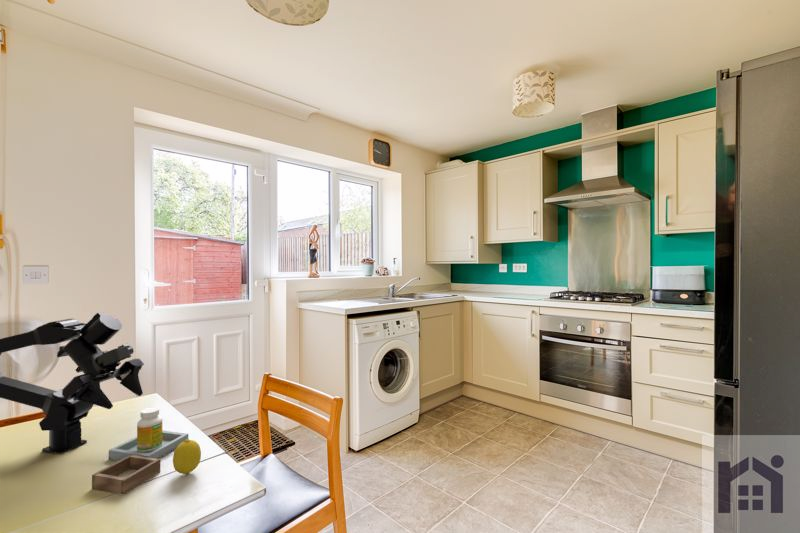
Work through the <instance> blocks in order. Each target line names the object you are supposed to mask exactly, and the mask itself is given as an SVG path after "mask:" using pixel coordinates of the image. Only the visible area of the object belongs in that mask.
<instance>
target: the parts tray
mask: <svg viewBox="0 0 800 533" xmlns="http://www.w3.org/2000/svg"><path fill="white" fill-rule="evenodd" d="M186 439H189V433H187V432H186V433H185V432H178V431H170V430H164V429H162V445H161V447H159V448H158V449H156V450H153V451H149V452H139V451H138V450H137V436H134V437H133V438H131V439H128V440H127V441H125V442H123V443H120V444H118V445H117V446H114V447H113V448H110V449H108V460H113V461H116V462H117V461H119V460H121V459H123V458H125V457H127V456H129V455H136V456H143V457H149V458H156V459H160V460H161V458H163V457H165V456H167V455H169V454H170V453H172V452H175V450H176V448H177V446H178V445H179V444H181V443H182V442H184V441H185V440H186Z"/></svg>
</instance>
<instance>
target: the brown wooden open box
mask: <svg viewBox="0 0 800 533" xmlns="http://www.w3.org/2000/svg"><path fill="white" fill-rule="evenodd" d="M128 471H134V472H132V473H131V474H129V475H127V476H126V477H123V476H122V477H121V475H123V474H124V473H127V472H128ZM160 473H161V458H160V459H156V458H149V457H143V456H136V455H129V456H127V457H125V458H123V459H121V460H119V461H117V460H116V462H114V463H112V464H110V465H108V466H106V467H104V468H103V469H100V470H99V471H97V472H95V473H93V474H92V475H91V490H94V491H101V492H106V493H111V494H116V495H122V496H125V495H126V494H128V493H131V491H133V490H134V489H136V488H138V487H139V486H141V485H142V484H145V483H146V482H147V481H149V480H150V479H152V478H153V477H155V476H157V475H158V474H160Z"/></svg>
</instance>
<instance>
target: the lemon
mask: <svg viewBox="0 0 800 533" xmlns="http://www.w3.org/2000/svg"><path fill="white" fill-rule="evenodd" d="M201 457H202V450H201V446H200V444H199V443H198V442H197V441H195V440H193V439H189V438H188V439H186V440H185V441H184V442H182V443H181V444H179V445H178V446H177V448H176V449H175V450H174V451H173V456H172V465H173V469H174V470H175V471H176V472H177V473H178V474H181V475H182V474H183V475H185V476H188V475H189V474H190V473H192V472H193V471H194V470H196V468H197V467H198V466H199V464H200V461H201V459H202V458H201Z"/></svg>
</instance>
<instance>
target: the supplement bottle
mask: <svg viewBox="0 0 800 533" xmlns="http://www.w3.org/2000/svg"><path fill="white" fill-rule="evenodd" d="M139 416H140V419H138V421H137V424H136V437H137V450H138V451H139V452H149V451H153V450H156V449H158V448H159V447H161V445H162V430H163V417H162V416H161V415H160V408H159V407H155V406H154V407H148V408H143V409H142V410H141V411H140V415H139Z"/></svg>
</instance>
